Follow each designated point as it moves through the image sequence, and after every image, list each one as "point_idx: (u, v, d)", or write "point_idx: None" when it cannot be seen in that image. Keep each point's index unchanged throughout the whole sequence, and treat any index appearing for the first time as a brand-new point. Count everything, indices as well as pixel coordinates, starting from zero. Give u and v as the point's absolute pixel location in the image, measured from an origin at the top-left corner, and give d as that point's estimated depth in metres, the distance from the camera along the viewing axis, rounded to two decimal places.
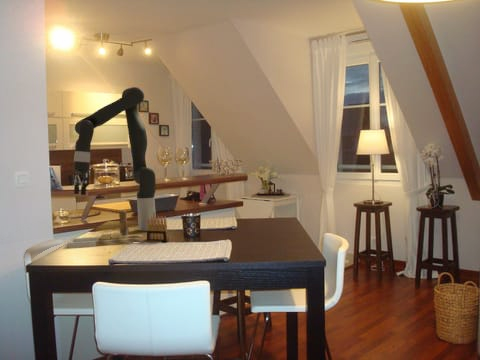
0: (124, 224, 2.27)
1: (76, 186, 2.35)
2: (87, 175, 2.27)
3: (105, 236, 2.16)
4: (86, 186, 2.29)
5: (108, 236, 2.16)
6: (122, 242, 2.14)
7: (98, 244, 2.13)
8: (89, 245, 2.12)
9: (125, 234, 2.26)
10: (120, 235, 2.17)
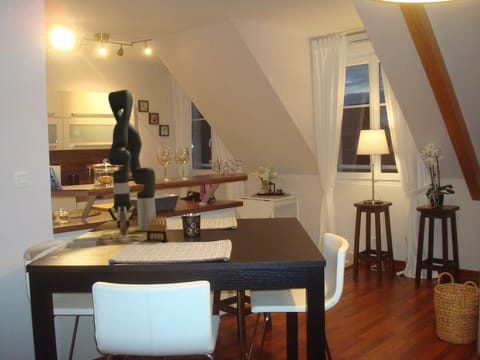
0: (124, 224, 2.27)
1: (119, 220, 2.28)
2: None
3: (105, 236, 2.16)
4: None
5: (108, 236, 2.16)
6: (122, 242, 2.14)
7: (98, 244, 2.13)
8: (89, 245, 2.12)
9: (125, 234, 2.26)
10: (120, 235, 2.17)
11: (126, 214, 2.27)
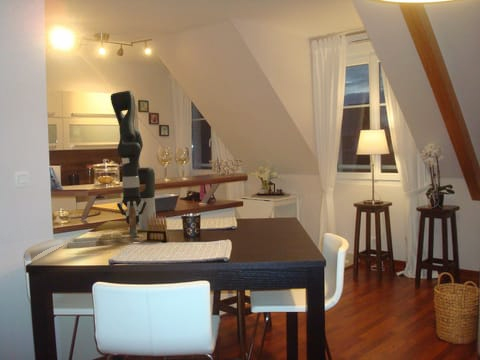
0: (133, 219, 2.17)
1: None
2: (146, 203, 2.20)
3: (105, 236, 2.16)
4: None
5: (108, 236, 2.16)
6: (122, 242, 2.14)
7: (98, 244, 2.13)
8: (89, 245, 2.12)
9: (134, 230, 2.17)
10: (120, 235, 2.17)
11: (136, 209, 2.17)
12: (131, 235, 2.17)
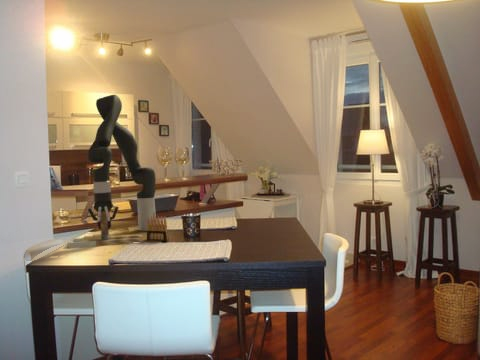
0: (105, 225, 2.16)
1: (100, 221, 2.16)
2: None
3: (87, 238, 2.14)
4: None
5: (90, 238, 2.14)
6: (122, 242, 2.14)
7: (98, 244, 2.13)
8: (89, 245, 2.12)
9: (106, 236, 2.15)
10: (100, 236, 2.15)
11: (107, 214, 2.15)
12: None
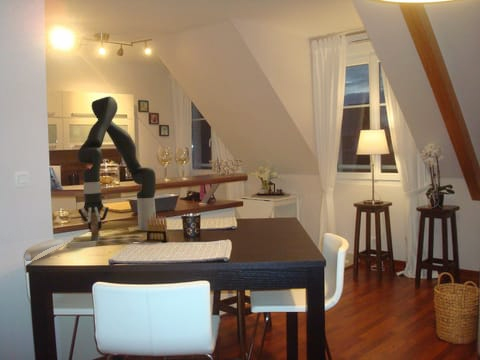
0: (95, 226, 2.15)
1: (90, 222, 2.16)
2: (108, 209, 2.17)
3: (77, 239, 2.14)
4: None
5: (80, 239, 2.14)
6: (122, 242, 2.14)
7: (98, 244, 2.13)
8: (89, 245, 2.12)
9: (96, 237, 2.14)
10: (90, 238, 2.14)
11: (97, 215, 2.15)
12: None
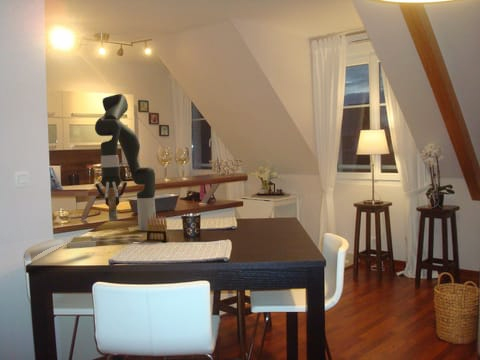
0: (113, 202, 2.05)
1: None
2: None
3: (77, 239, 2.14)
4: (119, 195, 2.08)
5: (80, 239, 2.14)
6: (122, 242, 2.14)
7: (98, 244, 2.13)
8: (89, 245, 2.12)
9: (114, 213, 2.04)
10: (90, 238, 2.15)
11: (115, 190, 2.05)
12: (110, 219, 2.04)
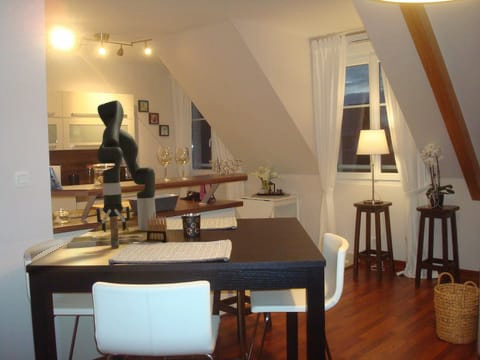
0: (115, 231, 2.06)
1: (105, 223, 2.06)
2: (129, 208, 2.08)
3: (77, 239, 2.14)
4: None
5: (80, 239, 2.14)
6: (122, 242, 2.14)
7: (98, 244, 2.13)
8: (89, 245, 2.12)
9: (116, 242, 2.05)
10: (90, 238, 2.15)
11: (120, 216, 2.06)
12: (113, 248, 2.05)
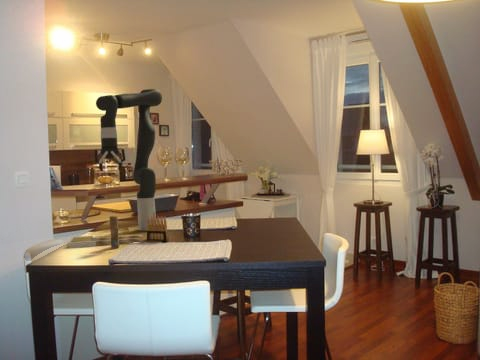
0: (115, 231, 2.06)
1: (101, 163, 2.31)
2: None
3: (77, 239, 2.14)
4: (121, 161, 2.33)
5: (80, 239, 2.14)
6: (122, 242, 2.14)
7: (98, 244, 2.13)
8: (89, 245, 2.12)
9: (116, 242, 2.05)
10: (90, 238, 2.15)
11: (116, 157, 2.30)
12: (113, 248, 2.05)
